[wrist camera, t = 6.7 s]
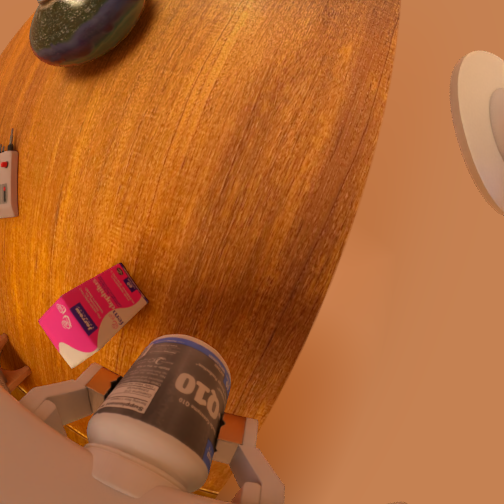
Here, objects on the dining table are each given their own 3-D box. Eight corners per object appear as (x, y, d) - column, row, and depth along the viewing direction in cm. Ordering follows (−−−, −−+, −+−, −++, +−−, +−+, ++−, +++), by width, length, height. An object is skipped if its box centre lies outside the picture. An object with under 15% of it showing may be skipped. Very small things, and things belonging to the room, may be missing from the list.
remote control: (1, 228, 29) (-12, 231, 26) (1, 136, 26) (-11, 135, 23) (19, 227, 29) (6, 231, 26) (21, 126, 25) (8, 125, 22)
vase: (170, -21, 19) (134, -78, 6) (149, 62, 23) (85, 9, 10) (80, 8, 20) (32, -24, 7) (55, 89, 24) (-13, 70, 11)
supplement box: (151, 300, 30) (99, 353, 18) (121, 321, 31) (70, 371, 20) (122, 259, 29) (58, 296, 18) (94, 283, 30) (35, 322, 19)
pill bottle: (246, 394, 13) (221, 540, 5) (171, 405, 13) (118, 520, 5) (208, 320, 12) (128, 481, 4) (130, 340, 13) (34, 451, 4)
